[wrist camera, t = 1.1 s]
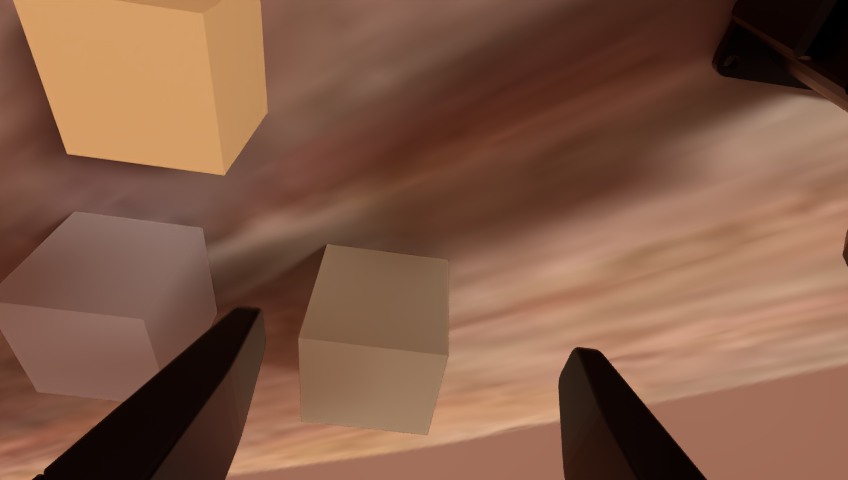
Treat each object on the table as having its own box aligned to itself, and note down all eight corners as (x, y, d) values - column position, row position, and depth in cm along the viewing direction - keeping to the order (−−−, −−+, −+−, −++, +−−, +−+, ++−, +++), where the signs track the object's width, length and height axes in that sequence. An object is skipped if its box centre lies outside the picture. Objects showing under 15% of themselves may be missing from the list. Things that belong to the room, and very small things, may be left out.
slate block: (203, 226, 24) (143, 319, 19) (218, 312, 28) (171, 406, 23) (75, 210, 24) (-18, 300, 19) (107, 298, 27) (37, 392, 23)
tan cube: (448, 258, 25) (448, 355, 20) (431, 337, 28) (427, 435, 24) (327, 243, 24) (298, 338, 20) (325, 324, 28) (301, 421, 23)
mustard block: (259, -25, 17) (202, 13, 13) (268, 111, 20) (224, 175, 16) (110, -48, 17) (7, -16, 13) (142, 93, 20) (67, 153, 16)
